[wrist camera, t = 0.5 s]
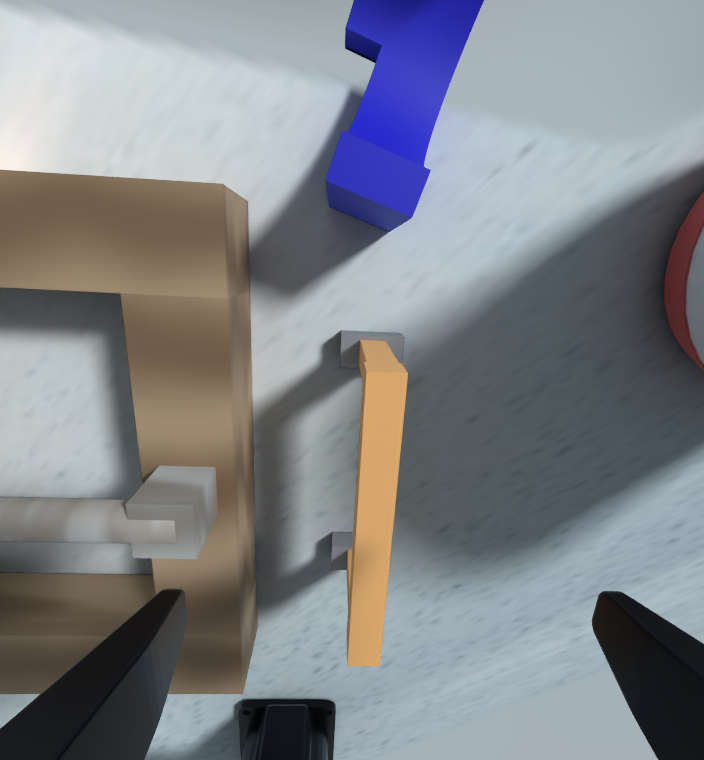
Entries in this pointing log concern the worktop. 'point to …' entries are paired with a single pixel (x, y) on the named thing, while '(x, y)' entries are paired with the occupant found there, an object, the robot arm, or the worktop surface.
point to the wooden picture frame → (145, 423)
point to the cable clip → (396, 103)
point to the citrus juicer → (687, 284)
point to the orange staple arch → (372, 488)
